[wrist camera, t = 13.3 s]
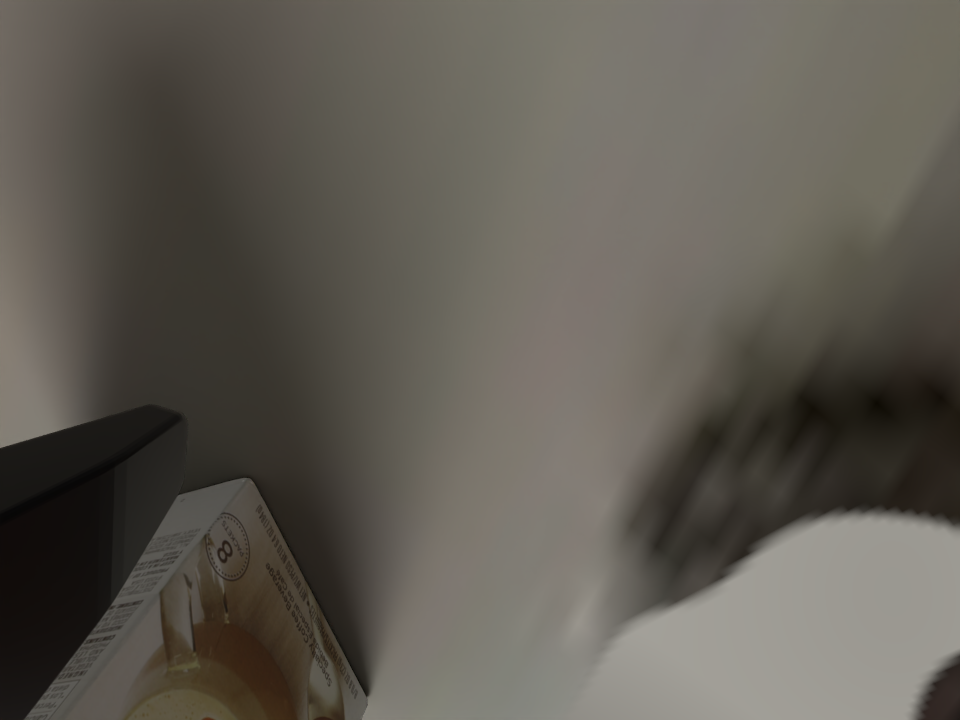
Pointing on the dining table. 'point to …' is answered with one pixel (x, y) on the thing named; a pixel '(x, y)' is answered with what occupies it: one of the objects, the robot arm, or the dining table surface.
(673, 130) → the dining table surface
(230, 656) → the coffee box
